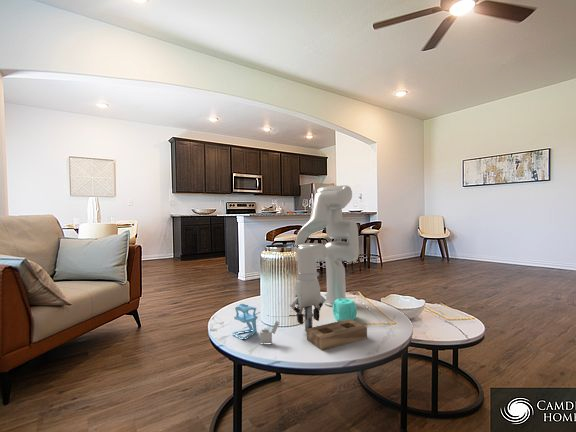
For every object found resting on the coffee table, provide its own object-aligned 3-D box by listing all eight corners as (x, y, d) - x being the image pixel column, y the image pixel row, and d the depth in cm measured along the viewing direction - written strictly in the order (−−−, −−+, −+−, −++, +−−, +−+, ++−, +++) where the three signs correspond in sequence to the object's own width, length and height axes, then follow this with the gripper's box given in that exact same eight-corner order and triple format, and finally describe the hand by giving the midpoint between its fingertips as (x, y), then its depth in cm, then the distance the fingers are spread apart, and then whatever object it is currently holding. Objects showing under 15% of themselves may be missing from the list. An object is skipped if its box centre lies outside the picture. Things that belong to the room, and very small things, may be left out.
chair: (260, 334, 117) (260, 303, 117) (243, 340, 111) (242, 308, 111) (249, 329, 122) (248, 299, 122) (231, 335, 117) (231, 304, 117)
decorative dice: (339, 323, 126) (339, 304, 126) (332, 316, 134) (332, 299, 134) (357, 321, 128) (356, 302, 128) (349, 315, 136) (348, 297, 135)
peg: (303, 329, 120) (302, 305, 120) (310, 328, 121) (309, 303, 121) (307, 332, 117) (306, 307, 117) (314, 330, 118) (313, 305, 118)
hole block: (306, 339, 111) (306, 328, 111) (350, 328, 119) (349, 318, 119) (321, 350, 102) (321, 338, 102) (367, 337, 111) (366, 327, 111)
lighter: (260, 344, 108) (259, 322, 108) (260, 342, 109) (260, 320, 109) (279, 344, 107) (279, 322, 107) (280, 342, 109) (279, 320, 109)
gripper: (320, 272, 126) (321, 314, 126) (283, 277, 118) (284, 322, 118) (330, 275, 119) (332, 320, 120) (292, 281, 112) (293, 329, 112)
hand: (308, 321), depth 119 cm, fingers open, 6 cm apart
